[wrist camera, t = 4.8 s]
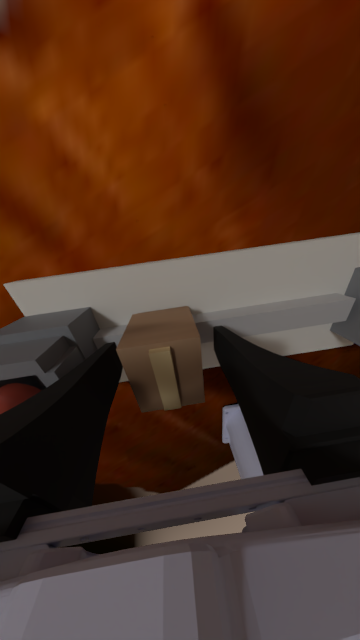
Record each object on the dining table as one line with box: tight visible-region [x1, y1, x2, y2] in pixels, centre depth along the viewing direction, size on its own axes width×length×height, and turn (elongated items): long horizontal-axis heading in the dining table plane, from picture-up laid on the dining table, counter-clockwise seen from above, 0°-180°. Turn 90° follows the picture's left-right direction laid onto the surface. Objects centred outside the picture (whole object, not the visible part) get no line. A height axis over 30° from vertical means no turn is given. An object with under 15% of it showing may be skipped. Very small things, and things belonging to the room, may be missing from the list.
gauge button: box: [0, 383, 41, 414], centre depth 7 cm, size 2×2×2 cm
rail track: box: [0, 232, 360, 391], centre depth 11 cm, size 11×30×6 cm, turn 97°
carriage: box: [116, 306, 205, 412], centre depth 10 cm, size 5×4×6 cm
